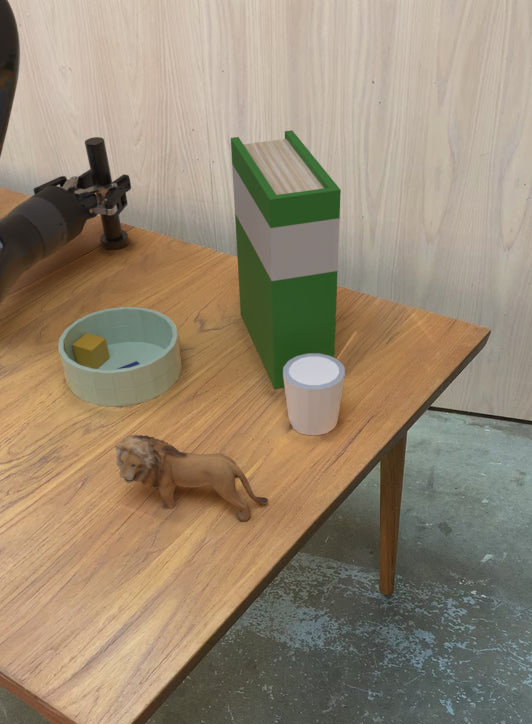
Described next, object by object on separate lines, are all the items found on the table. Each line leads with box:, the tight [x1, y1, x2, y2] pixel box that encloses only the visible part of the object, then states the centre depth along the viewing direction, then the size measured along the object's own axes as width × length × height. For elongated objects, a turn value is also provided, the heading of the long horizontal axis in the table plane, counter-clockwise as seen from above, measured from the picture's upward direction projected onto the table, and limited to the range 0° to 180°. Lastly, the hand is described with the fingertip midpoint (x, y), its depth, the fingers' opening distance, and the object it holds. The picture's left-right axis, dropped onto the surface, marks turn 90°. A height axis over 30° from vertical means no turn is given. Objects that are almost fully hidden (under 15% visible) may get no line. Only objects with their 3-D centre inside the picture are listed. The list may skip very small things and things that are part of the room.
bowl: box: [58, 306, 183, 408], centre depth 96 cm, size 14×14×6 cm
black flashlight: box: [84, 136, 130, 251], centre depth 118 cm, size 4×4×16 cm
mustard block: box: [72, 333, 110, 369], centre depth 98 cm, size 3×3×3 cm
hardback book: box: [230, 129, 342, 390], centre depth 92 cm, size 18×7×24 cm, turn 15°
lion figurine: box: [114, 434, 269, 522], centre depth 77 cm, size 15×5×9 cm, turn 90°
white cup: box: [283, 353, 346, 436], centre depth 87 cm, size 7×7×7 cm
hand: (111, 178), depth 118 cm, fingers open, 5 cm apart
